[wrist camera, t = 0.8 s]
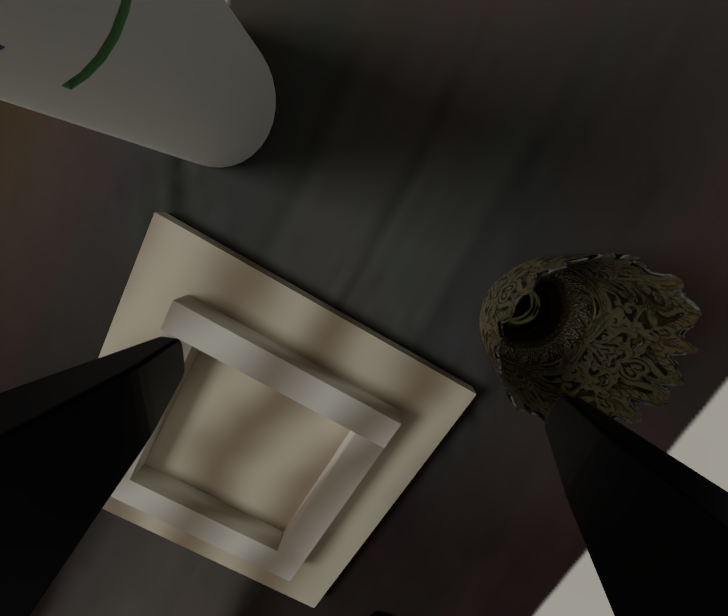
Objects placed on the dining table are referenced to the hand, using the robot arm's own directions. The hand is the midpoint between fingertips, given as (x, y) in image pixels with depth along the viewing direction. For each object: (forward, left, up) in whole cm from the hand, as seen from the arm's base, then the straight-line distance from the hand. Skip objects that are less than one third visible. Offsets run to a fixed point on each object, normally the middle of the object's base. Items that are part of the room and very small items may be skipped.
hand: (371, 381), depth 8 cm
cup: (-8, -3, -13) cm, 16 cm away
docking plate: (+2, +14, -13) cm, 19 cm away
